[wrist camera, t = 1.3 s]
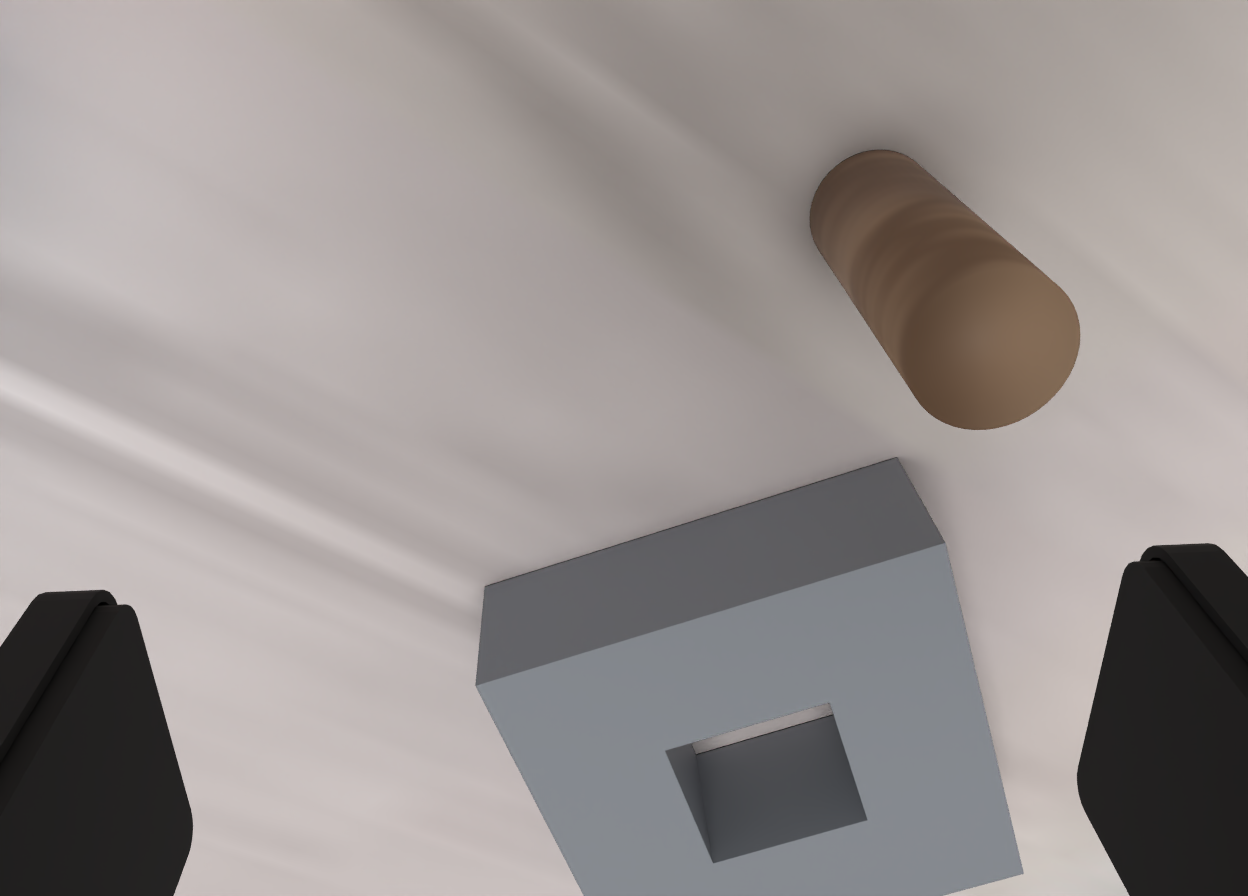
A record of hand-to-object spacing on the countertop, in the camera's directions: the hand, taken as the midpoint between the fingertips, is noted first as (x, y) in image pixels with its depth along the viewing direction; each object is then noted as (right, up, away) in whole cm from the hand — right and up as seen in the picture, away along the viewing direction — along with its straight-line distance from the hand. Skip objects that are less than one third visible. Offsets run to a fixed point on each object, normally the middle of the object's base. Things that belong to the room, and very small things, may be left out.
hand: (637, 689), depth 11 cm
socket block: (+4, -6, +29) cm, 30 cm away
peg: (+7, +9, +21) cm, 24 cm away
